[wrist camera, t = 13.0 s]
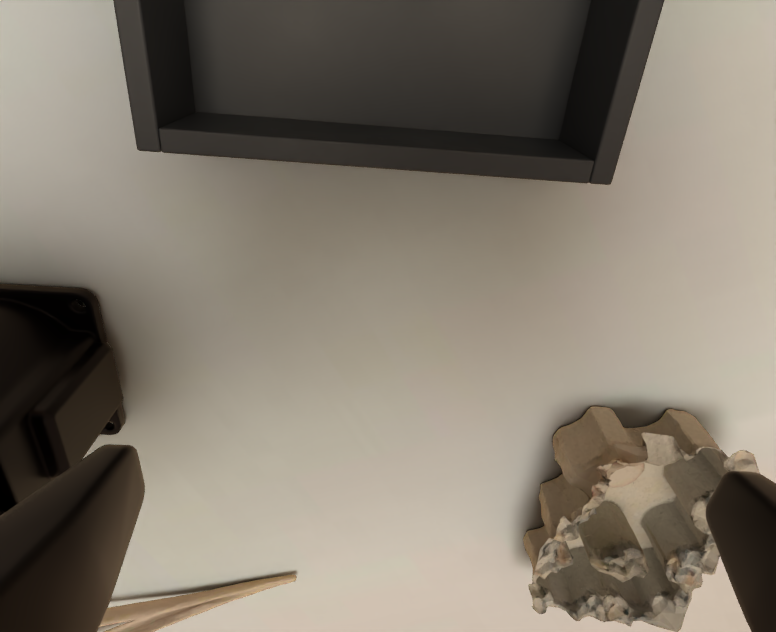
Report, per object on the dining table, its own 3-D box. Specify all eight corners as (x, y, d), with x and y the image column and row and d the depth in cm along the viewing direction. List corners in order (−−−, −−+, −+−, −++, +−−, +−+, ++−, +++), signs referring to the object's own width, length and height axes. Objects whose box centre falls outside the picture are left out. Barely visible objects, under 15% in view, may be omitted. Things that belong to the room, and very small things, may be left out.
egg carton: (561, 394, 21) (600, 467, 17) (733, 408, 22) (804, 482, 18) (504, 559, 26) (525, 642, 22) (644, 567, 27) (685, 649, 23)
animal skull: (30, 654, 29) (10, 693, 28) (-23, 608, 27) (-48, 646, 26) (313, 579, 28) (311, 613, 27) (281, 524, 26) (277, 558, 24)
